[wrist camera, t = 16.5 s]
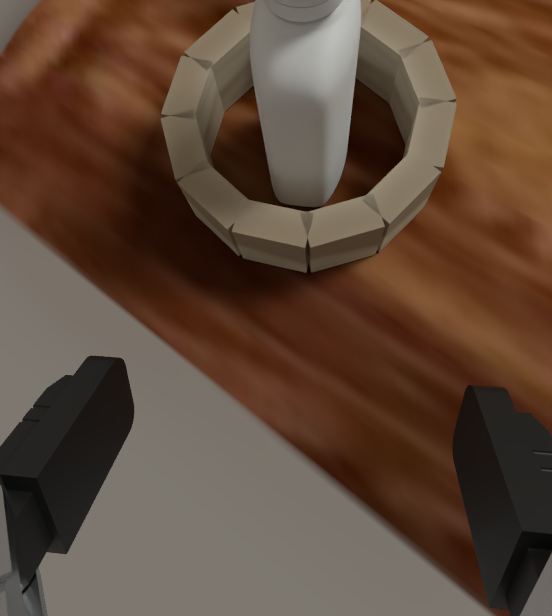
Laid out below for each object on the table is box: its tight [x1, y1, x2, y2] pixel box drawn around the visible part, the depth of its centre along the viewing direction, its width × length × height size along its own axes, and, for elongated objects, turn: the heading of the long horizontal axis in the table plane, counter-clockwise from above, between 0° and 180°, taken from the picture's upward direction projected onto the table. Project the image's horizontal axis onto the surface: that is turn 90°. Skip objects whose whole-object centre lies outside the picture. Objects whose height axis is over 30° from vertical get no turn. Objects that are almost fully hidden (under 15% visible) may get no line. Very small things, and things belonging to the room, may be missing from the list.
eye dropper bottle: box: [249, 0, 361, 207], centre depth 16 cm, size 4×6×12 cm
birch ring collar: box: [161, 0, 457, 273], centre depth 21 cm, size 11×11×3 cm
